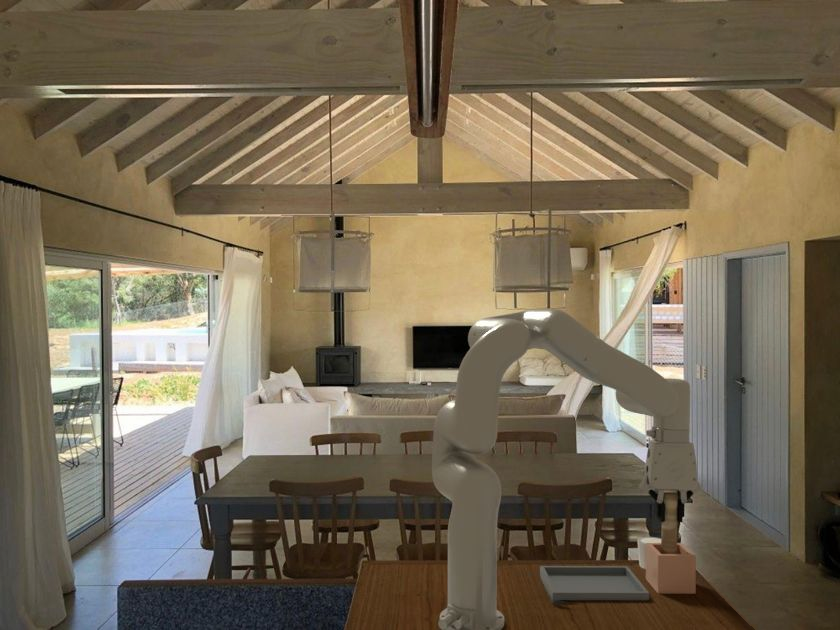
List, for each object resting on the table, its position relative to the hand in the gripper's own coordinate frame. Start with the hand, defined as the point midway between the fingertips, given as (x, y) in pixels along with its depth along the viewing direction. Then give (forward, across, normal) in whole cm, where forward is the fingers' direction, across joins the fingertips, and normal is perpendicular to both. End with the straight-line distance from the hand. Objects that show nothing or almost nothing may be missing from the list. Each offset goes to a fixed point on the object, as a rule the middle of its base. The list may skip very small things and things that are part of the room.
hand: (669, 519), depth 153 cm
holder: (+16, 0, 0) cm, 16 cm away
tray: (+16, -17, 0) cm, 23 cm away
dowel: (+9, 0, 0) cm, 9 cm away
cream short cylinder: (+16, 0, +12) cm, 20 cm away
